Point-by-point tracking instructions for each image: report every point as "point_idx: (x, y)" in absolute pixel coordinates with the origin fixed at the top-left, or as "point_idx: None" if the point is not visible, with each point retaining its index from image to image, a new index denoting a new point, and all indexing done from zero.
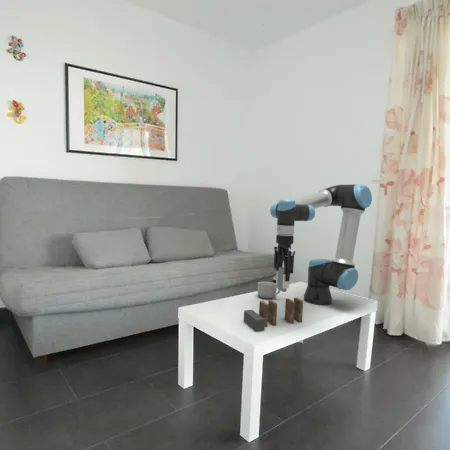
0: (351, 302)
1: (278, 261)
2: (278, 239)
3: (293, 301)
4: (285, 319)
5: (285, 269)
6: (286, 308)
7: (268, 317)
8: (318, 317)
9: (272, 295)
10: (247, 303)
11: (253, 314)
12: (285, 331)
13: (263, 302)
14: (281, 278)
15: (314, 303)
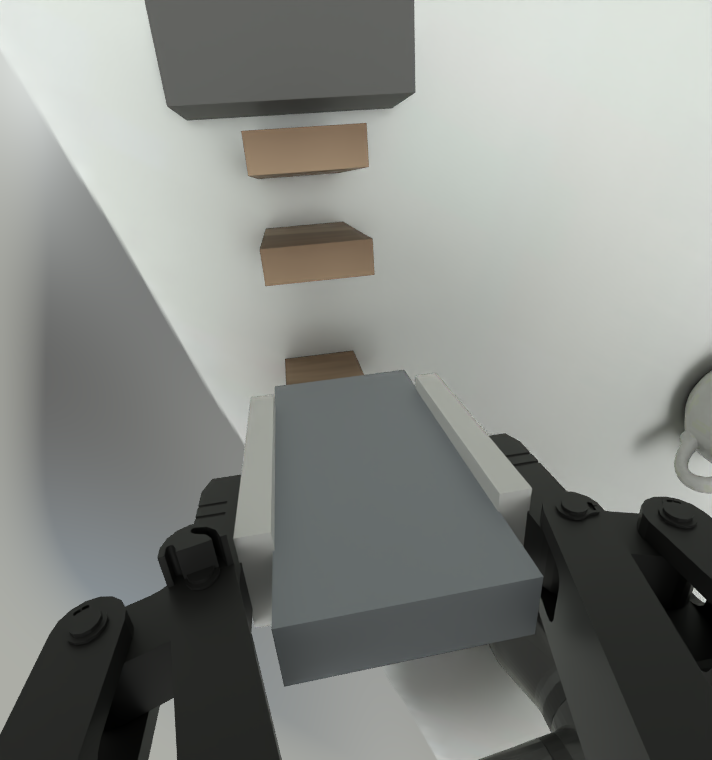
0: (476, 716)
1: (643, 725)
2: None
3: None
4: (343, 353)
5: (186, 648)
6: None
7: (334, 225)
8: None
9: (688, 425)
10: (688, 226)
11: (294, 43)
12: (163, 272)
13: (310, 146)
14: (352, 461)
15: None
